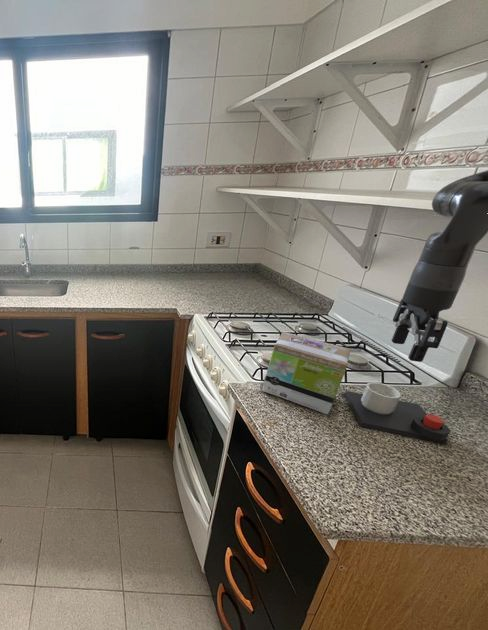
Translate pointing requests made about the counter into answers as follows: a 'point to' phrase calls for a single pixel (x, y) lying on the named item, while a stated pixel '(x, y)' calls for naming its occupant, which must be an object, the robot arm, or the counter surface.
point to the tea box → (306, 371)
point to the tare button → (433, 422)
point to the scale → (397, 420)
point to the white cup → (380, 398)
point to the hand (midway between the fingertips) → (405, 351)
